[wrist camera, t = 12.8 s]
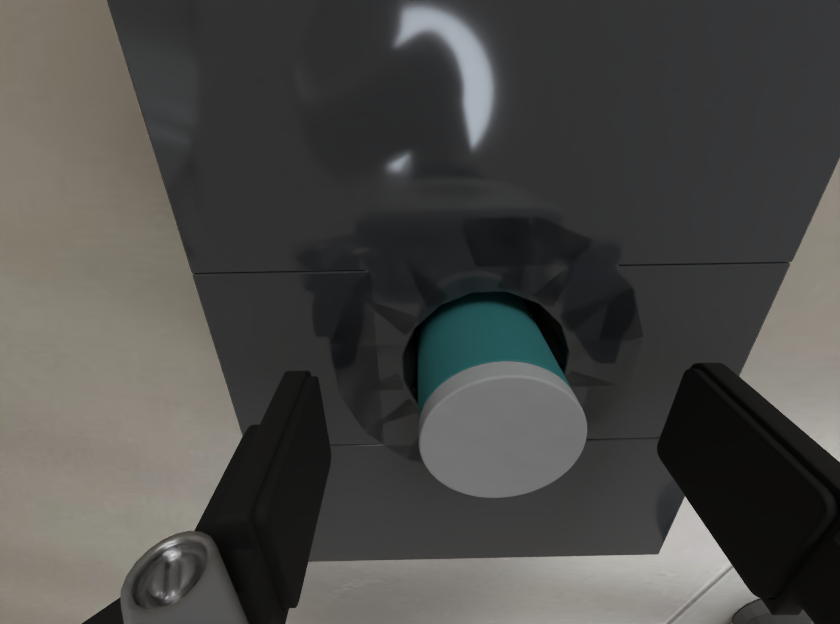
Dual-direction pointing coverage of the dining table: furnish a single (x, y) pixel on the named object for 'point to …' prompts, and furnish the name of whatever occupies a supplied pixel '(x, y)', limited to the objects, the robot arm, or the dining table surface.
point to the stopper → (493, 399)
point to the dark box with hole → (487, 221)
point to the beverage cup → (767, 616)
